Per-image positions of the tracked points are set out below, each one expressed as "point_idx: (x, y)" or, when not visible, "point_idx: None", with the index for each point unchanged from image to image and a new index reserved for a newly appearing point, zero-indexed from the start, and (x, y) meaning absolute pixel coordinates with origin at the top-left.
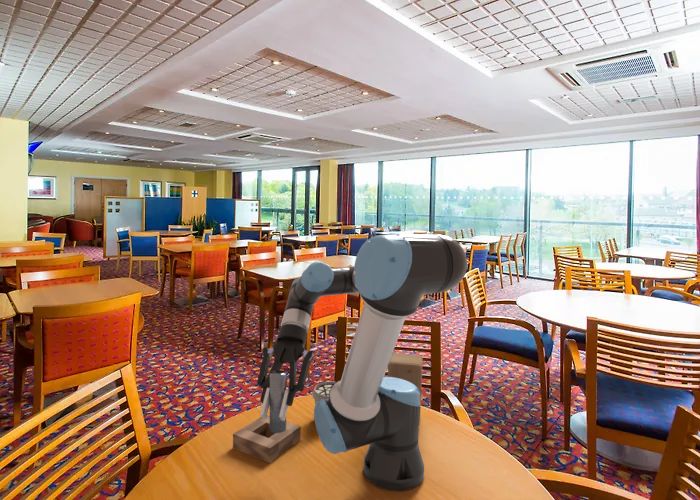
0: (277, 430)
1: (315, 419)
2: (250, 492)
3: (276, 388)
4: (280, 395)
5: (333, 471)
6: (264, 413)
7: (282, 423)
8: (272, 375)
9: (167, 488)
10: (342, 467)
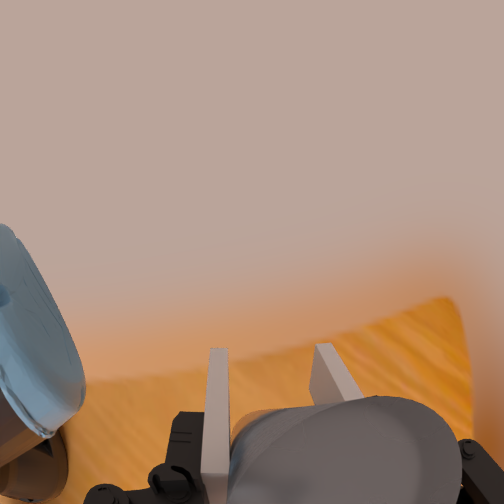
0: (254, 411)
1: (65, 368)
2: (285, 355)
3: (296, 408)
4: (254, 423)
5: (124, 454)
6: (316, 364)
7: (237, 424)
8: (407, 410)
9: (426, 317)
10: (108, 468)
